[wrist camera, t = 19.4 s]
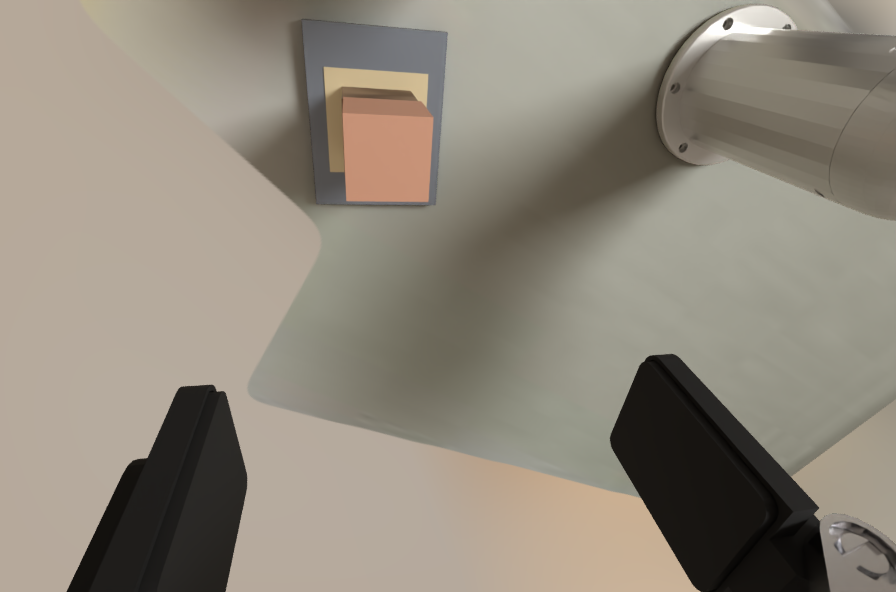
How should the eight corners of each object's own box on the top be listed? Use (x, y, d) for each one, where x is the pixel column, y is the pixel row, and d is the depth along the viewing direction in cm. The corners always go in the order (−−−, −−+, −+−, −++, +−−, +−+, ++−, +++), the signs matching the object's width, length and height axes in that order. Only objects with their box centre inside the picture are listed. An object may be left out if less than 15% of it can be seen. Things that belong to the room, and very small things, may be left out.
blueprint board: (445, 31, 32) (447, 32, 32) (433, 200, 39) (435, 205, 38) (302, 19, 30) (301, 19, 30) (317, 199, 37) (316, 204, 36)
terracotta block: (421, 101, 29) (433, 117, 25) (418, 176, 32) (428, 202, 28) (343, 96, 28) (342, 113, 24) (346, 174, 31) (346, 201, 27)
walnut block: (410, 90, 33) (419, 103, 29) (408, 157, 36) (416, 177, 32) (342, 86, 32) (341, 98, 28) (345, 155, 35) (344, 176, 31)
